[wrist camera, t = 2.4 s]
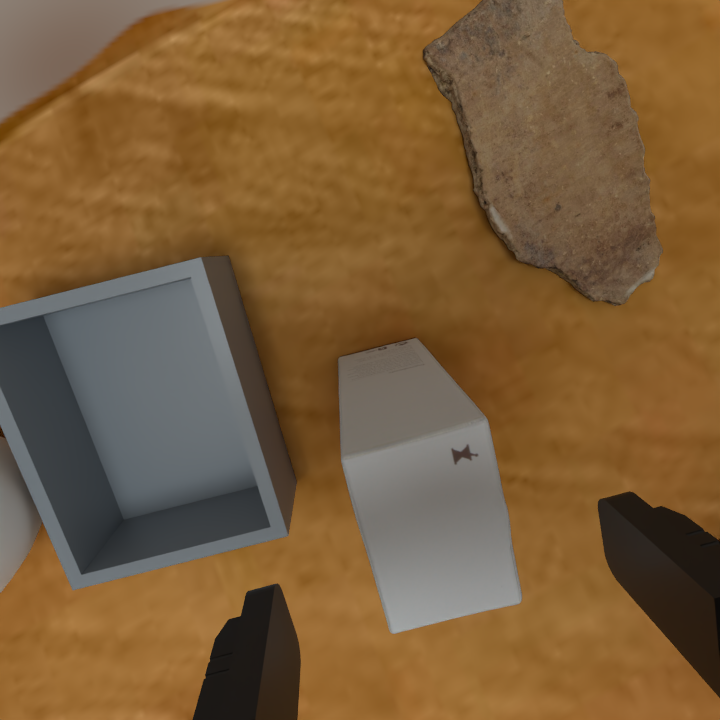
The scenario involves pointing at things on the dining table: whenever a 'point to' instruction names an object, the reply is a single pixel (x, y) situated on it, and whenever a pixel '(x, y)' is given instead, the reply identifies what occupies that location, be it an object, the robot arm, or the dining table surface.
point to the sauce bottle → (14, 516)
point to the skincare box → (424, 488)
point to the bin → (144, 421)
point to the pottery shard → (550, 145)
